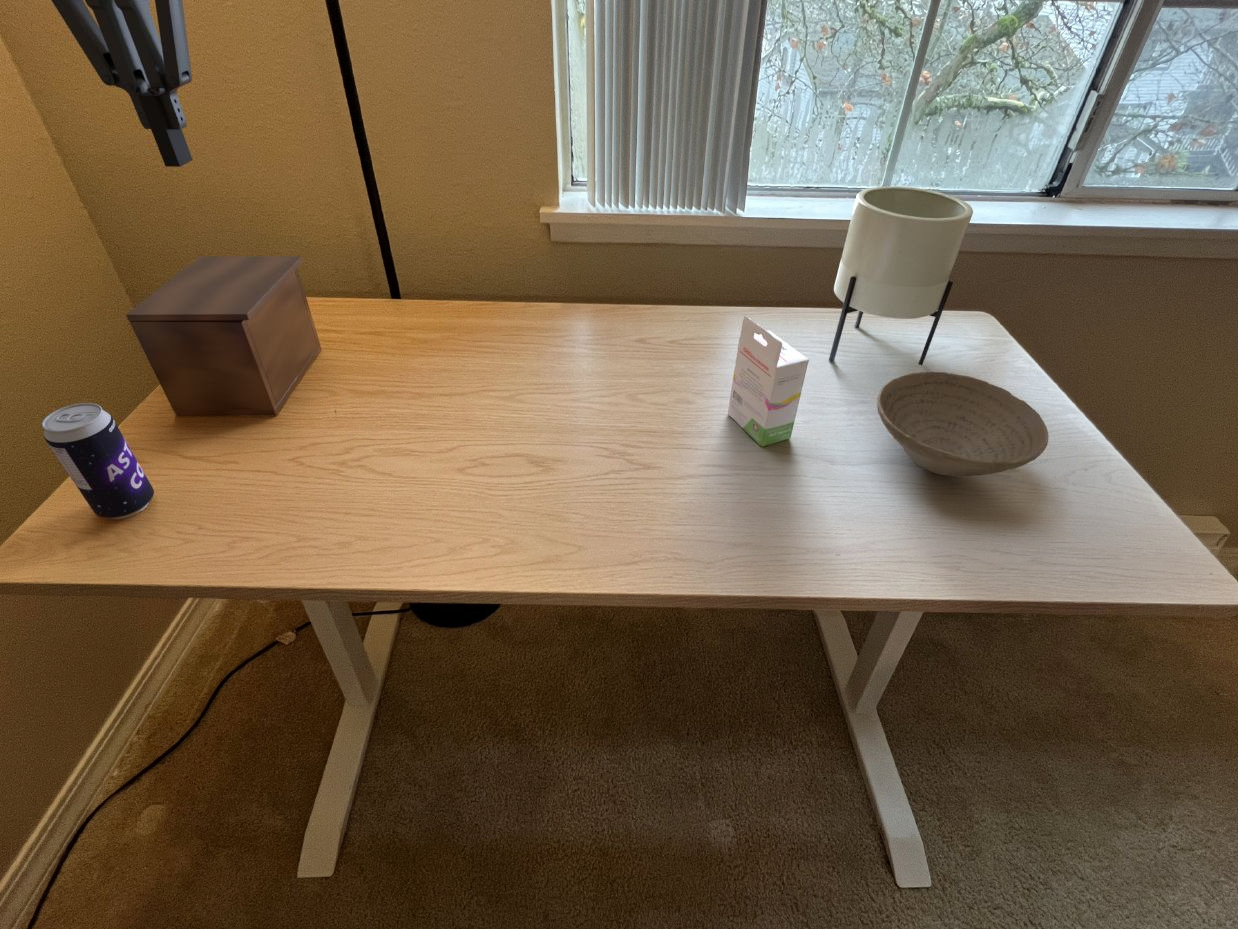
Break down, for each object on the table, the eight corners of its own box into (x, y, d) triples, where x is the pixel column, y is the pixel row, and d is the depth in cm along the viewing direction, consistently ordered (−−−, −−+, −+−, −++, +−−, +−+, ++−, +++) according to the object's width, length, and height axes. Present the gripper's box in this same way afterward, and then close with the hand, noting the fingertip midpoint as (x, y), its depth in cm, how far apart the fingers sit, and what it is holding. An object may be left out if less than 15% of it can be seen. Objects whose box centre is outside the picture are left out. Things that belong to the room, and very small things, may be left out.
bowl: (888, 511, 73) (910, 456, 68) (845, 419, 88) (860, 368, 83) (1049, 515, 74) (1082, 461, 69) (980, 422, 88) (1003, 371, 83)
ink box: (792, 439, 84) (817, 337, 74) (760, 448, 82) (782, 344, 73) (755, 405, 90) (774, 306, 80) (725, 412, 88) (740, 313, 79)
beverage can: (138, 524, 69) (81, 434, 61) (85, 523, 69) (22, 432, 61) (168, 489, 73) (119, 401, 66) (118, 488, 73) (63, 399, 66)
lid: (303, 261, 90) (301, 256, 90) (249, 320, 76) (246, 314, 76) (201, 262, 90) (199, 256, 89) (128, 320, 76) (125, 314, 75)
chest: (321, 349, 99) (296, 263, 90) (276, 416, 85) (241, 322, 76) (235, 348, 98) (201, 262, 90) (175, 415, 84) (128, 321, 76)
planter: (797, 340, 105) (830, 193, 91) (868, 321, 111) (910, 180, 97) (865, 384, 95) (915, 227, 80) (939, 361, 101) (998, 211, 86)
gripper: (-55, -152, 50) (94, 171, 65) (118, -146, 50) (226, 174, 65) (13, -142, 56) (135, 152, 71) (168, -137, 56) (256, 155, 71)
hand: (179, 162), depth 68 cm, fingers closed
